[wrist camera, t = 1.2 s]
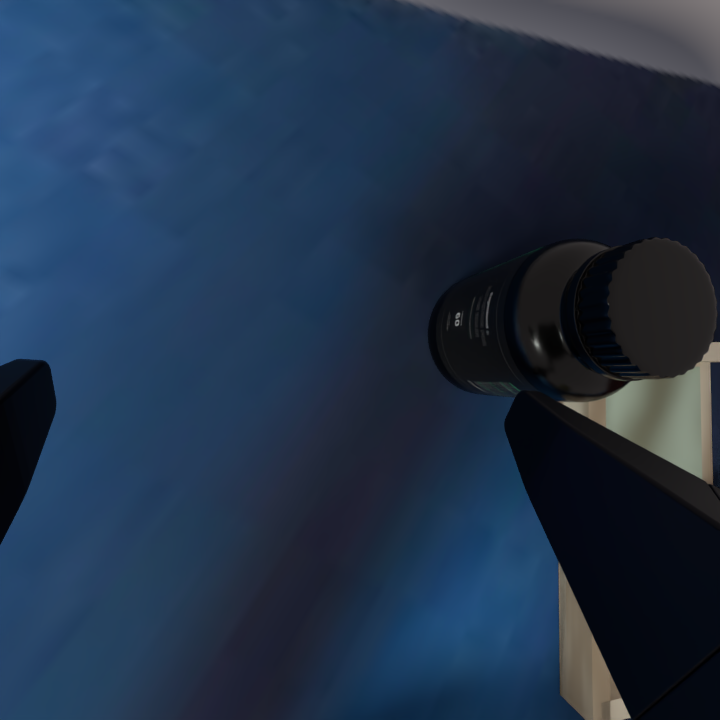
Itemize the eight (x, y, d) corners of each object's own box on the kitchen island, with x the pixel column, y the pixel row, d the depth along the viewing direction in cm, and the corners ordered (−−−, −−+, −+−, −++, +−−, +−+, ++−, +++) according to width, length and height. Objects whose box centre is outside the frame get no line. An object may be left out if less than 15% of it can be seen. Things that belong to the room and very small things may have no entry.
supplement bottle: (445, 260, 26) (614, 169, 14) (540, 305, 28) (759, 256, 16) (408, 370, 25) (555, 367, 14) (507, 409, 27) (714, 437, 15)
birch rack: (700, 345, 31) (741, 343, 28) (707, 660, 30) (750, 686, 28) (556, 341, 28) (587, 338, 25) (560, 694, 27) (593, 727, 25)
